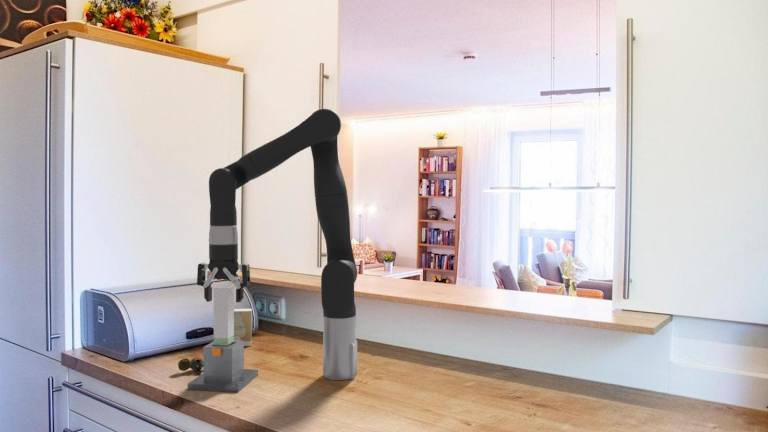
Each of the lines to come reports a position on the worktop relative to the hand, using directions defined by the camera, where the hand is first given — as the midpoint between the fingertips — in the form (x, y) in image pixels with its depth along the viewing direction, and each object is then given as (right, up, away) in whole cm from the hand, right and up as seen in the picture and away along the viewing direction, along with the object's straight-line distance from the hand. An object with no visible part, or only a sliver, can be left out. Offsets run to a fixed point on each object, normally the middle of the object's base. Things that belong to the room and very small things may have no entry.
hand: (223, 301), depth 149 cm
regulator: (-9, -22, +11) cm, 26 cm away
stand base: (0, -22, +1) cm, 22 cm away
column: (0, -14, 0) cm, 14 cm away
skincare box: (-5, -21, +39) cm, 44 cm away
